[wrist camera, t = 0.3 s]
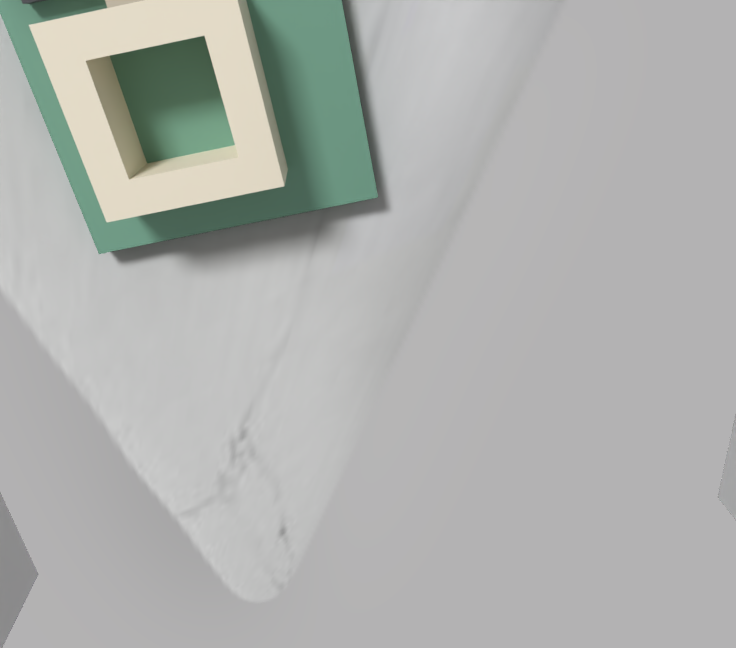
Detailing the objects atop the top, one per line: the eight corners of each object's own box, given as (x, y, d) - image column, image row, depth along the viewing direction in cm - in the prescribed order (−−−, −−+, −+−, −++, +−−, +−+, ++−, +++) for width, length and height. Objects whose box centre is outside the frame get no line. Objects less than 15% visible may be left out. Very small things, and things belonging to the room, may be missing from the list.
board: (-44, -124, 29) (-107, -146, 24) (303, -201, 28) (300, -237, 24) (105, 246, 37) (77, 278, 33) (376, 191, 36) (383, 216, 32)
